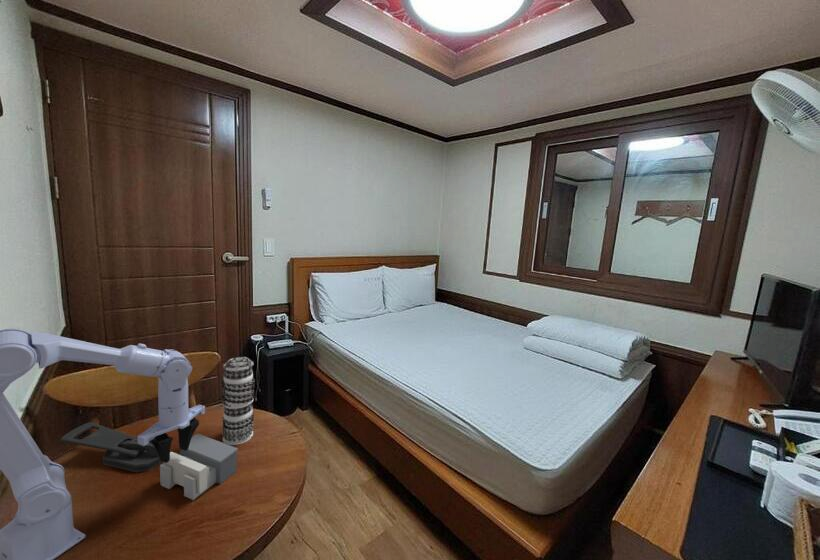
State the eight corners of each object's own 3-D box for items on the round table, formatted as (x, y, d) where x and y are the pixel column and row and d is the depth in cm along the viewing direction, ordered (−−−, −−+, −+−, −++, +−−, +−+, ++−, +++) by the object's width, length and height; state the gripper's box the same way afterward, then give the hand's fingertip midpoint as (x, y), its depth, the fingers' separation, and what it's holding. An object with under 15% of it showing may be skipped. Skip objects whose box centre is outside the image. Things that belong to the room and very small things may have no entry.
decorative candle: (213, 443, 97) (213, 364, 93) (234, 425, 106) (234, 352, 103) (242, 448, 96) (242, 368, 92) (260, 429, 105) (261, 356, 102)
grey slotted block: (198, 502, 77) (198, 477, 76) (155, 483, 82) (154, 459, 81) (237, 470, 88) (237, 448, 87) (197, 454, 92) (197, 433, 91)
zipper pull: (90, 419, 93) (174, 429, 92) (91, 440, 94) (175, 451, 93) (54, 439, 84) (147, 451, 83) (56, 462, 85) (148, 474, 84)
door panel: (207, 487, 80) (207, 466, 79) (199, 493, 78) (199, 471, 77) (172, 472, 84) (171, 451, 83) (164, 478, 82) (163, 456, 81)
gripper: (152, 423, 69) (154, 480, 71) (213, 393, 83) (213, 442, 85) (130, 414, 71) (132, 470, 73) (193, 386, 85) (193, 434, 87)
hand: (174, 454), depth 79 cm, fingers open, 4 cm apart
